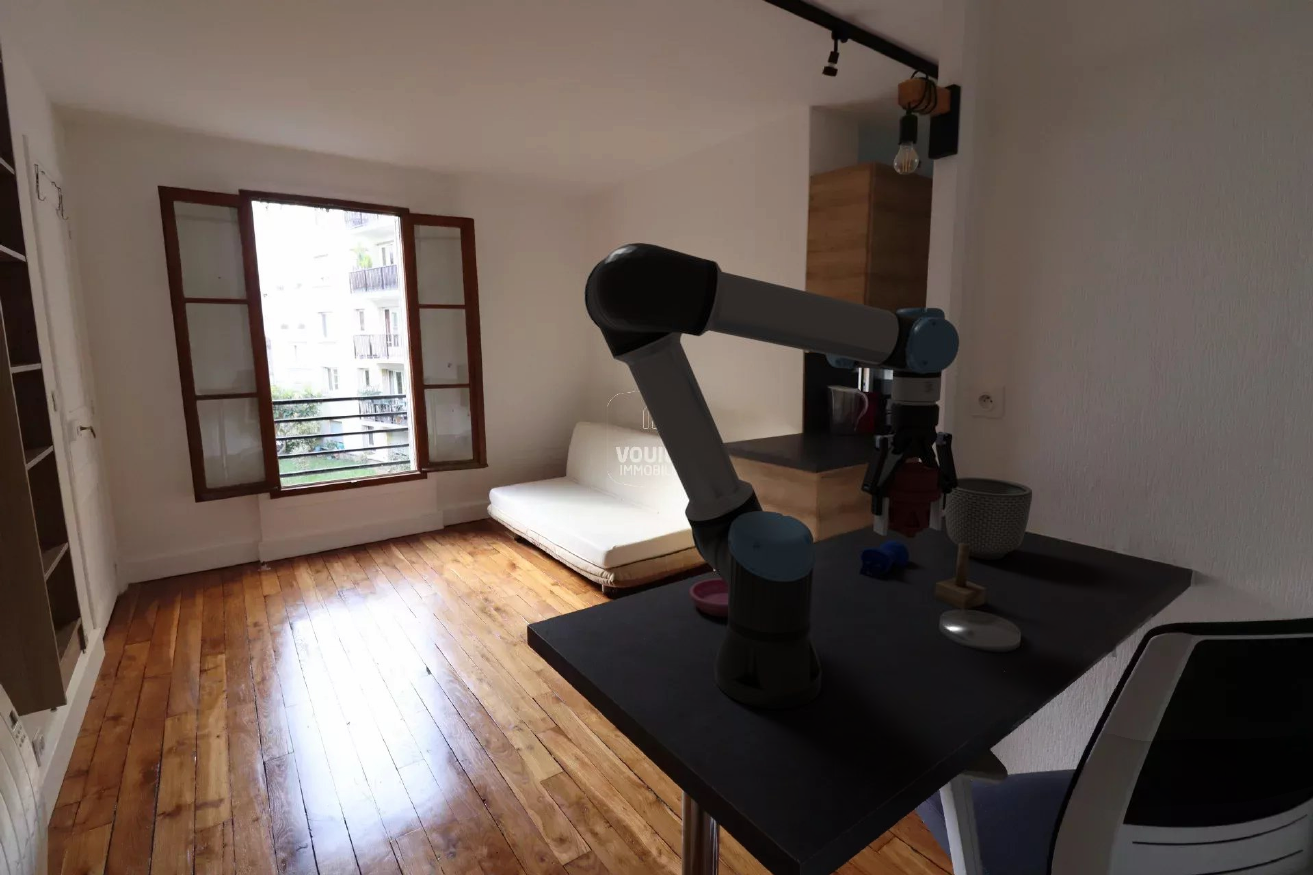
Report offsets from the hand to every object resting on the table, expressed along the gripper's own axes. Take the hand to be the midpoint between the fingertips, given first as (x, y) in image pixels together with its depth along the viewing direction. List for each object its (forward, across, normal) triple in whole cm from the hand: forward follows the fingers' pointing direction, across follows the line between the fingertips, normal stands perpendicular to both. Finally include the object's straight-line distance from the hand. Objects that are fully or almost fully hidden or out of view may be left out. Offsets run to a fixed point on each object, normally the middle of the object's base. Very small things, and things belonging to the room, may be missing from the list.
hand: (907, 530), depth 106 cm
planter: (+16, +38, +24) cm, 48 cm away
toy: (+16, +12, +22) cm, 30 cm away
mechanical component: (+1, 0, 0) cm, 1 cm away
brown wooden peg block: (+16, +15, +3) cm, 22 cm away
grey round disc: (+16, +8, -9) cm, 20 cm away
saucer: (+16, -29, +12) cm, 35 cm away
